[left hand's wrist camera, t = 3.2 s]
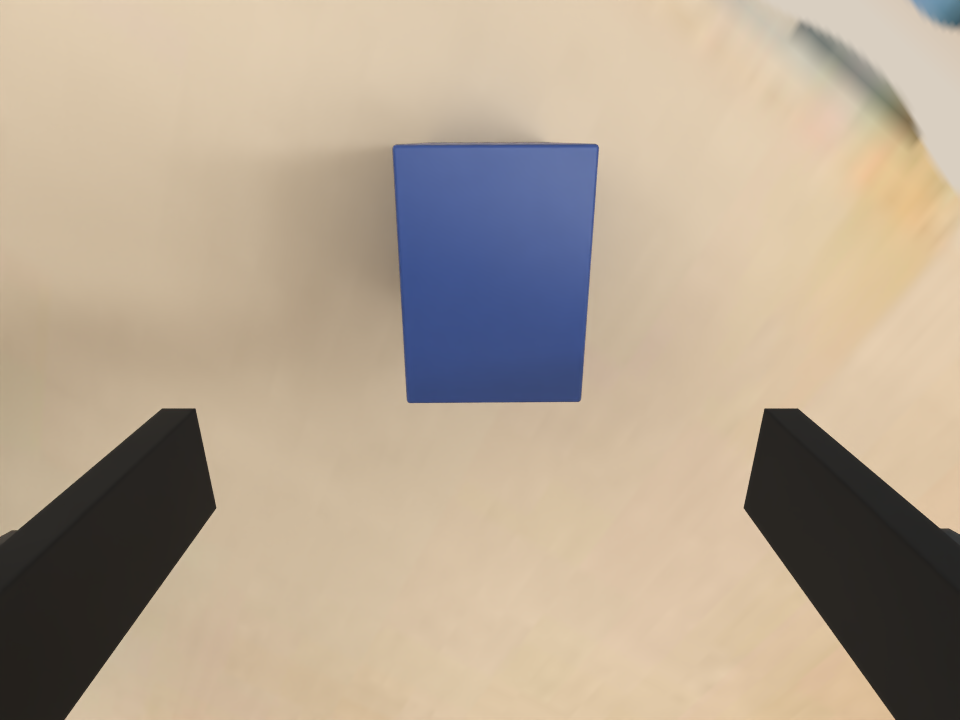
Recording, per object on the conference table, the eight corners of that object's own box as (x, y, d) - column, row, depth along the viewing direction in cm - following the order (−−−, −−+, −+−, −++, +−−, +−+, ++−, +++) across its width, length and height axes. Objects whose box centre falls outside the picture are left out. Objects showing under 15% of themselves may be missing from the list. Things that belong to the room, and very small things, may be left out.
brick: (432, 305, 27) (406, 404, 17) (426, 142, 24) (391, 144, 14) (541, 304, 27) (581, 402, 17) (547, 142, 24) (599, 143, 14)
